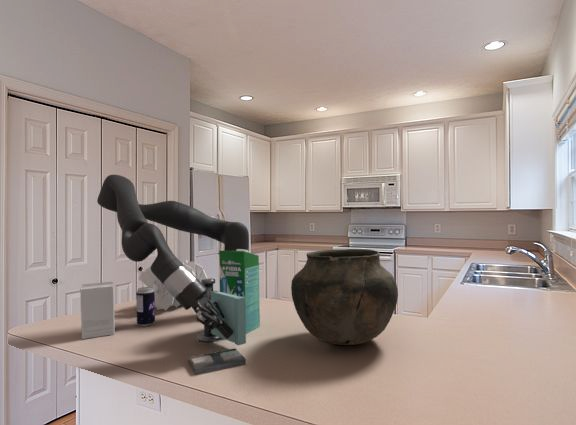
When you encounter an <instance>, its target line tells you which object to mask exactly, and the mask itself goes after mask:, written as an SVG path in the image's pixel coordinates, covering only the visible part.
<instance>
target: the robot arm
mask: <svg viewBox="0 0 576 425" xmlns="http://www.w3.org/2000/svg"><path fill="white" fill-rule="evenodd" d="M96 202H97V204H98V205H99V206H100V207H101V208H104V209H106V210H108V211H111V212H115V213H116V218H117V219H116V220H117V223H118V225H119V227H120V229H121V248H122V251H123V253H124V255H125V256H126V258H127V259H129V260H131V261H132V262H135V263H136V262H139V263H140V262H143V261H144V260H147V258H148V257H149V256H150V255H151V254H153V252H155V251H157V255H156V257H155V259H154V261H153V262H152V264H151V265H150V266H151V271H152V273H153V274H154V275H155V276H156V277H157V278H158V279H159V280H160V281H161V282H162V284H163V285H164V286H165V287H166V289H167V290H168V291H169V293H170V294H171V295H172V296H173V297H174V298H175V299H176V300H177V301H178V302H179V303H180V305H181V307H182V308H183V309H184V310H185V311H188V310H189V309H191V308H192V310H193V311H194V312H195V314H196V315H197V317H196V318H195V320H196V322H198V323H200V324H202V325H203V326H204V325H205V326H207V327H209V328H210V329H212V330H213V329H218V331H219V332H220V333H221V334H222V335H223V336H224V337H225V338H226V339H228V338H229V337H230V336H231V335H232V334H233V330H232V329H231V328H230V327H229V326H228V325H227V324H226V323H225V322H224V321H225V320H224V315H223V313H222V311H221V309H220V307H219V305H218V304H217V302H214V303H213V302H212V301H211V300H209V299H208V298H207V297H205V296H204V295H205V294H206V292H207V288H206V287H205V286H204V285H203V284H202V283H201V282H200V281H199V280H198V279H197V277H196V276H195V275H194V274H193V273H192V272H191V271H190V270H189V269H187V268H186V267H185V266H184V265H183V264H182V263H181V262H182V261H181V260H179V258H178V257H176V256H175V254H174V252H173V251H172V250H171V247H170V246H169V245H168V242H167V240H166V238H165V236H164V234H163V233H162V231H161V229H160V228H159V227H158V226H157V225H156V224H154V223H157V224H160V225H162V226H165V227H168V228H171V229H175V230H178V231H180V232H181V231H182V232H185V233H188V234H189V233H190V234H194V235H195V234H196V235H200V236H204V237H208V238H210V239H212V240H215V241H218V242H219V243H221V244H223V245H224V248H223V251H236V249H244V250H248V253H250V252H249V251H250V233H249V230H248V227H247V226H246V225H245V224H244V223H242V222H239V221H228V220H223V219H219V218H215V217H212V216H211V215H208V214H206V213H204V212H202V211H201V210H198V209H197V208H195V207H192V206H191V205H187V204H184V203H182V202H179V201H176V200H165V201H159V202H154V203H145V204H140V203H139V201H138V197H137V192H136V189H135V185H134V183H133V182H132V180H130V179H129V178H127V177H126V176H123V175H119V174H109V175H107V176H106V177H105V179H104V180H103V183H102V185H101V189H100V191H99V193H98V197H97V201H96ZM148 221H151V222H154V223H150V222H148ZM226 339H225V340H226Z"/></svg>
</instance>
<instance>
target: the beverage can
mask: <svg viewBox="0 0 576 425" xmlns="http://www.w3.org/2000/svg"><path fill="white" fill-rule="evenodd" d="M135 296H136V298H135V300H136V303H135V304H136V305H135V306H136V324H137V325H138V326H139V325H140V326H139V327H149V326H148V325H150V326H152V325H153V324H154V323H155V322H156V314H155V313H156V306H155V291H154V289H153V287H148V286H144V287H143V286H142V287H138V288H137V291H136V292H135Z"/></svg>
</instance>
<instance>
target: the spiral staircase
mask: <svg viewBox="0 0 576 425" xmlns="http://www.w3.org/2000/svg"><path fill="white" fill-rule="evenodd" d="M180 262H181V263H182V264H183V265H184V266H185V267H186V268H187V269H189V270H190V271H191V272H192V273H193V274H194V275H195V276H196V277H197V279H198V280H199V281H200V282H201V280H202V279H209V278H208V276H207V274H206V271H205V270H204V267H203V266H202V265H200V264H198V263H197V261H194V260H193V261H188V260H187V259H185V260H184V261H183V262H182V261H180ZM138 280H139V281H140V282H141V283H143V285H145V287H153V289H154V291H155V308H156V311H159V310H164V311H168V309H169V308H170V307H173V306H174V308H178V307H179V306H180V305H181V304H180V303H179V302H178V301H177V300H176V299H175V298H174V297H173V296H172V295H171V294H170V293H169V291H168V290H167V289H166V287H165V286H164V285H163V284H162V282H161V281H160V280H159V279H158V278H157V277H156V276H155V275H154V274H153V273H152V271H151V265H149V267H147V268H146V269H145V270H144V269H141V272H140V274H139V277H138Z"/></svg>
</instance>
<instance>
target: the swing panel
mask: <svg viewBox="0 0 576 425" xmlns="http://www.w3.org/2000/svg"><path fill="white" fill-rule="evenodd" d="M211 301H212V302H213V303H214V302H217V304H218V305H219V307H220V309H221V311H222V313H223V315H224V320H225V321H224V322H225V323H226V324H227V325H228V326H229V327H230V328H231V329H232V330H233V334H232V335H231V336H230V337H229V338H228V339H226V338H225V337H224V336H223V335H222V334H221V333H220V332H219V331H218V329H213V330H212V329H211V334H213V335H216V336H218V337H221V339H224V340H225V341H229V342H231V343H234V345H236V346H238V347H239V346H242V345H245V344H247V334H246V315H245V297H242V296H241V297H239V296H235V295H231V294H227V293H223V292H220V290H219V291H218V290H213V291H211Z"/></svg>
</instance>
